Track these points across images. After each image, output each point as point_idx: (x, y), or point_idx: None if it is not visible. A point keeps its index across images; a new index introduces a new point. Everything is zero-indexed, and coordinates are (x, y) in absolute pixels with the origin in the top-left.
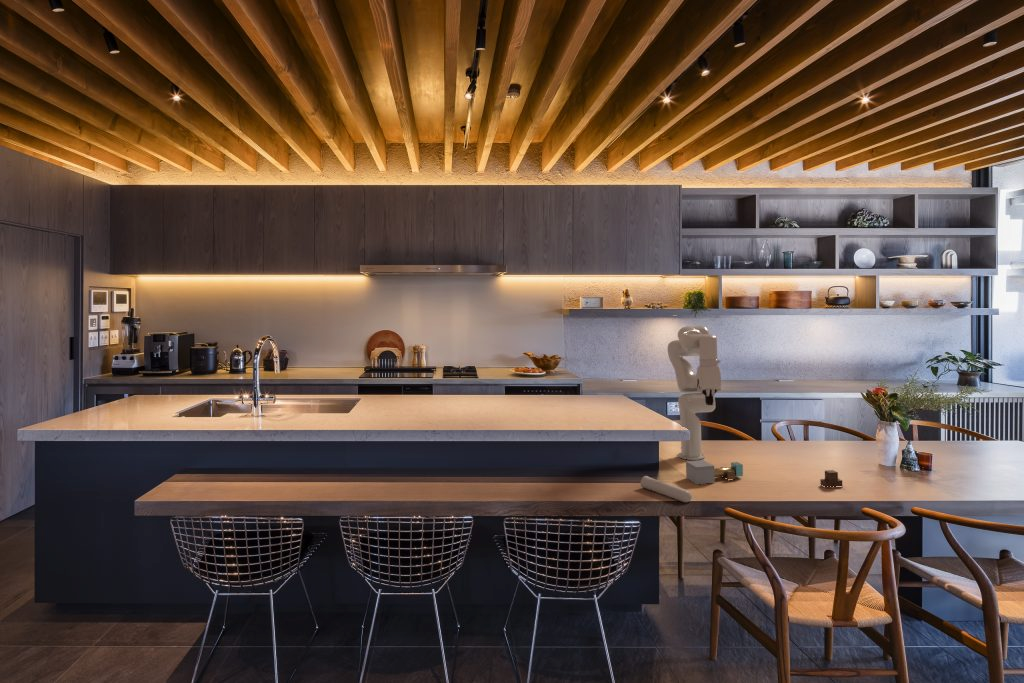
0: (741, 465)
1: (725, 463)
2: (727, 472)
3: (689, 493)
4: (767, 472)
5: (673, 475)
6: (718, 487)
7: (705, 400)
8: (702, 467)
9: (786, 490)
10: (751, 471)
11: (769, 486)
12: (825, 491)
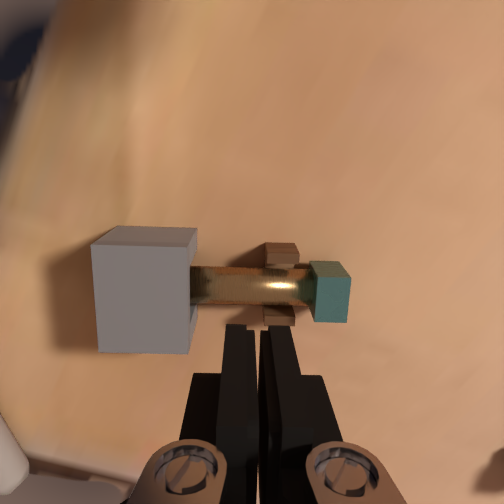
0: (339, 320)
1: (412, 46)
2: (264, 316)
3: (9, 493)
4: (478, 252)
5: (79, 164)
6: (186, 365)
7: (188, 399)
8: (130, 351)
9: (380, 451)
10: (430, 217)
11: (359, 403)
12: (480, 487)
